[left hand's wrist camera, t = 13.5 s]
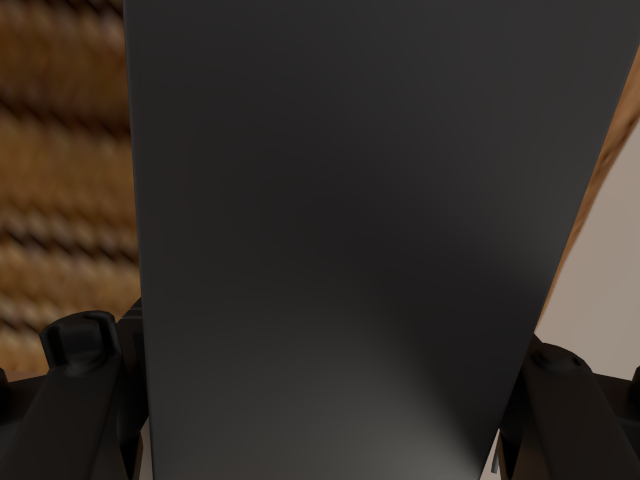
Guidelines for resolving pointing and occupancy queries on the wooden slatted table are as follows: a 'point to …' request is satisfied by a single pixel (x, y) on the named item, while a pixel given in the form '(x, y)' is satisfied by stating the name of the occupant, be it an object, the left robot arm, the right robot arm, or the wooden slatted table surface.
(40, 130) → the wooden slatted table surface
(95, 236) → the wooden slatted table surface
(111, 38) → the wooden slatted table surface
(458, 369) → the bar
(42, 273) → the wooden slatted table surface
